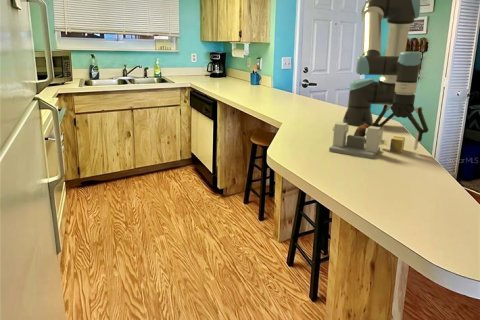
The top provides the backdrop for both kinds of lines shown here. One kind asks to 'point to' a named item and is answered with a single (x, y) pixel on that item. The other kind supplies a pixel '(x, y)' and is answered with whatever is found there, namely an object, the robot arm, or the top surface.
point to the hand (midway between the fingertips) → (397, 146)
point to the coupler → (397, 144)
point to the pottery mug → (361, 130)
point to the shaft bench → (356, 141)
